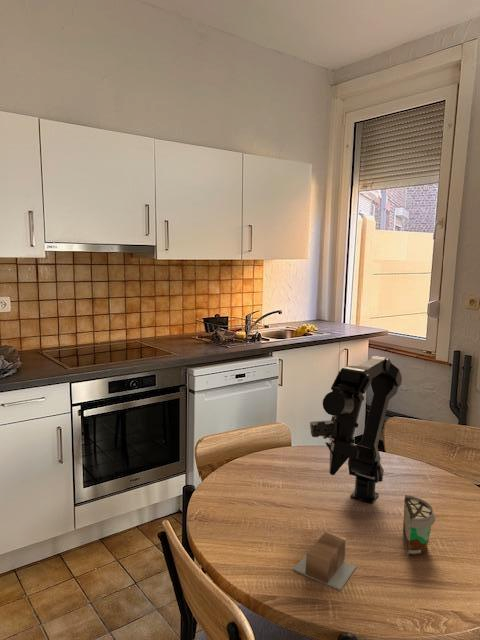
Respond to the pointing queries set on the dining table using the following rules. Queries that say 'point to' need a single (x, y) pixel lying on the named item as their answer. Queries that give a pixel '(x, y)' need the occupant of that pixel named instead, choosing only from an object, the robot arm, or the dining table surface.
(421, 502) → the food container
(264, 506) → the dining table surface
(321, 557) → the walnut block
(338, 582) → the mat
